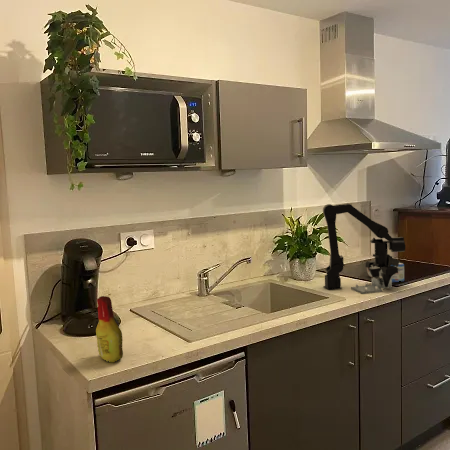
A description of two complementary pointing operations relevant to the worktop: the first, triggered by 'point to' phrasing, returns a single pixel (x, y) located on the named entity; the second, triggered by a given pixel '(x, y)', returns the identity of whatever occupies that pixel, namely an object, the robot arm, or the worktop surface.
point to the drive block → (380, 282)
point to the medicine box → (400, 274)
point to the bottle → (108, 332)
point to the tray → (366, 289)
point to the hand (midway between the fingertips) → (381, 285)
